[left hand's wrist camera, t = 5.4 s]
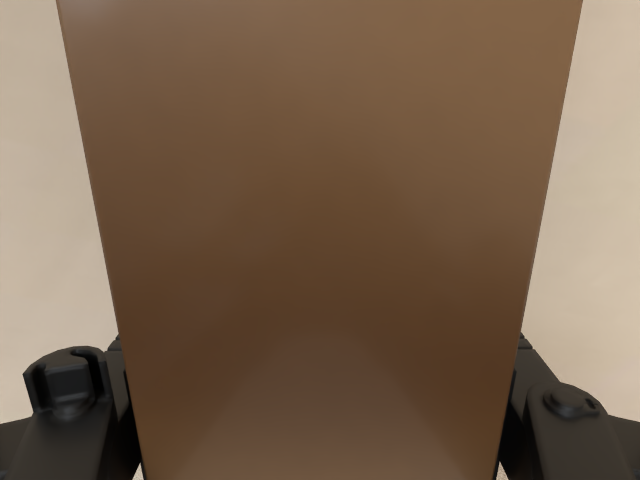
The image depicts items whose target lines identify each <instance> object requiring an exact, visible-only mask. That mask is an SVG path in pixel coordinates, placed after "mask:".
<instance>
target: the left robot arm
mask: <svg viewBox="0 0 640 480" xmlns="http://www.w3.org/2000/svg"><path fill="white" fill-rule="evenodd" d="M23 377H24V381H25V384H26V388H27V391H28V395H29V398H30V402H31V405H32V408H33V415H32V417H29V418H25V419H21V420H17V421H12V422H7V423H3V424H0V480H132V479H133V477H134V475H135V473H136V470H137V468H138V466H139V464H140V463H141V468H142V474H143V479H144V480H146V475H145V470H144V465H143V459H142V454H141V449H140V443H139V438H138V433H137V427H136V422H135V417H134V412H133V406H132V401H131V396H130V390H129V385H128V380H127V374H126V369H125V364H124V359H123V353H122V348H121V343H120V337H119V334H118V336H117V337H116V340H114V341H113V342H112V343H111V345H110V346H109V347H108V350H107V351H105V352H103V351H101V350H100V349H99V348H95V347H90V346H75V347H70V348H65V349H61V350H57V351H55V352H53V353H50V354H48V355H46V356H43V357H42V358H40V359H39V360H37V361H36V362H34V363H33V364H31V365H30V366H29V367H28V368H27V370H26V371H25V372H24V373H23ZM499 462H501V464H502V467H503V469H504V471H505V473H506V475H507V477H508V479H509V480H640V422H637V421H632V420H628V419H623V418H618V417H615V416H611V415H608V414H607V412H606V410H605V409H604V407H603V406H602V405H601V403H600V402H599V401H598V400H596V399H595V398H594V397H593V396H591V395H590V394H589V393H587V392H585V391H583V390H581V389H579V388H577V387H575V386H572V385H569V384H565V383H561V382H560V381H559V380H558V379H557V377H556V376H555V375H554V374H553V372H552V371H551V370H550V369H549V367H548V366H547V365H546V363H545V362H544V361H543V360H542V358H541V357H540V356H539V354H538V353H537V352H536V351H535V349H533V348H532V346H531V344H530V343H529V342H528V340H527V339H525V338H524V335H523V334H522V333H521V332H520V338H519V343H518V348H517V353H516V359H515V364H514V369H513V375H512V380H511V385H510V391H509V396H508V401H507V407H506V412H505V417H504V423H503V428H502V433H501V439H500V444H499V449H498V455H497V460H496V465H495V471H494V476H493V480H496V477H497V472H498V467H499Z"/></svg>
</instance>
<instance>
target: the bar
mask: <svg viewBox="0 0 640 480" xmlns="http://www.w3.org/2000/svg"><path fill="white" fill-rule="evenodd" d="M582 2H583V0H56V4H57V9H58V14H59V20H60V25H61V30H62V36H63V41H64V46H65V51H66V57H67V62H68V67H69V73H70V78H71V83H72V88H73V94H74V99H75V104H76V110H77V115H78V120H79V126H80V131H81V136H82V141H83V147H84V152H85V157H86V163H87V168H88V173H89V179H90V184H91V189H92V194H93V200H94V205H95V210H96V216H97V221H98V226H99V231H100V237H101V242H102V247H103V253H104V258H105V263H106V269H107V274H108V279H109V284H110V290H111V295H112V300H113V306H114V311H115V316H116V322H117V327H118V332H119V337H120V343H121V348H122V353H123V359H124V364H125V369H126V374H127V380H128V385H129V390H130V396H131V401H132V406H133V412H134V417H135V422H136V427H137V433H138V438H139V443H140V449H141V454H142V459H143V465H144V470H145V475H146V480H493V476H494V471H495V465H496V460H497V455H498V449H499V444H500V439H501V433H502V428H503V423H504V417H505V412H506V407H507V401H508V396H509V391H510V385H511V380H512V375H513V369H514V364H515V359H516V353H517V348H518V343H519V338H520V332H521V327H522V322H523V316H524V311H525V306H526V300H527V295H528V290H529V284H530V279H531V274H532V268H533V263H534V258H535V252H536V247H537V242H538V236H539V231H540V226H541V220H542V215H543V210H544V204H545V199H546V194H547V188H548V183H549V178H550V172H551V167H552V162H553V156H554V151H555V146H556V140H557V135H558V130H559V124H560V119H561V114H562V108H563V103H564V98H565V92H566V87H567V82H568V76H569V71H570V66H571V61H572V55H573V50H574V45H575V39H576V34H577V29H578V23H579V18H580V13H581V7H582Z"/></svg>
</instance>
